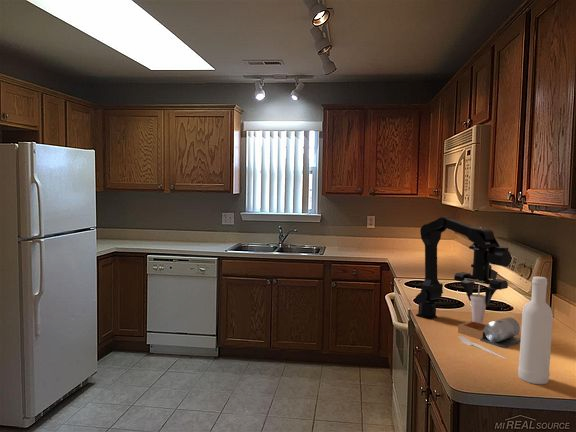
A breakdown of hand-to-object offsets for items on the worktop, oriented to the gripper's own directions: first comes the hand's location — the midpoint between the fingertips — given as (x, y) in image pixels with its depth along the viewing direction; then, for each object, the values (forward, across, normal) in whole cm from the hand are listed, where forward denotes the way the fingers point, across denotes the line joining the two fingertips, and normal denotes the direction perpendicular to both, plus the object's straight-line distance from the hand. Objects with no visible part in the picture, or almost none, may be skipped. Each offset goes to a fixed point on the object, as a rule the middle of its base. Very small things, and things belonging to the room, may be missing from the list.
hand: (478, 302), depth 173 cm
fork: (+12, -10, +14) cm, 21 cm away
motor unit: (+12, -5, 0) cm, 13 cm away
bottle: (+12, -32, +25) cm, 42 cm away
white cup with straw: (+7, 0, 0) cm, 7 cm away
